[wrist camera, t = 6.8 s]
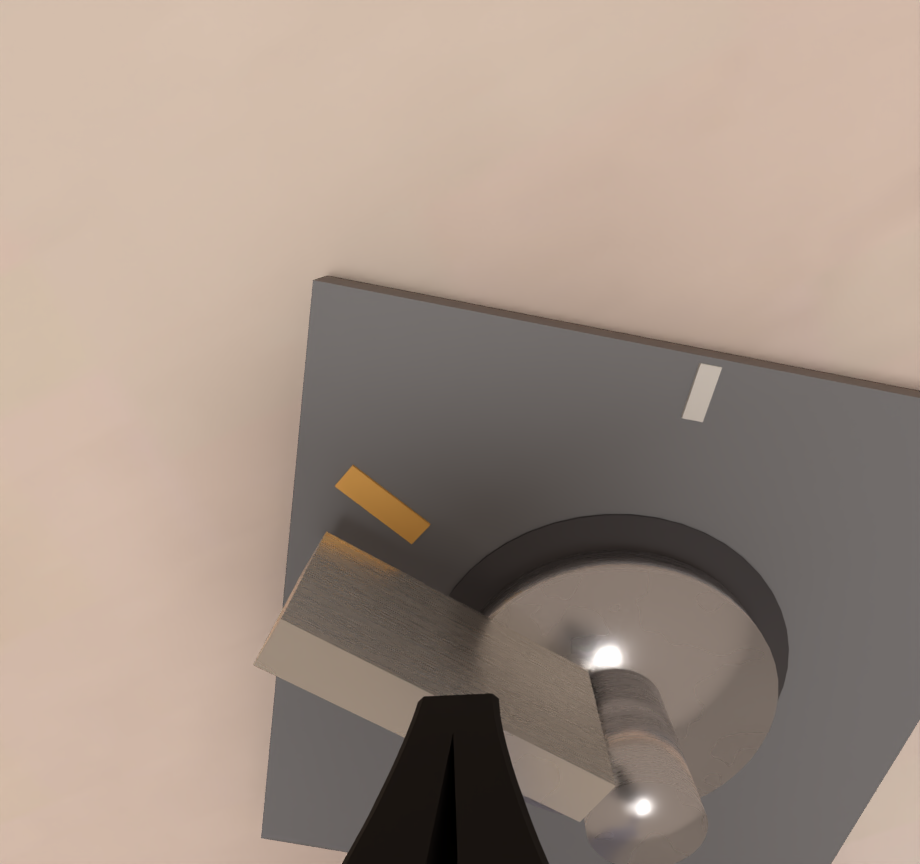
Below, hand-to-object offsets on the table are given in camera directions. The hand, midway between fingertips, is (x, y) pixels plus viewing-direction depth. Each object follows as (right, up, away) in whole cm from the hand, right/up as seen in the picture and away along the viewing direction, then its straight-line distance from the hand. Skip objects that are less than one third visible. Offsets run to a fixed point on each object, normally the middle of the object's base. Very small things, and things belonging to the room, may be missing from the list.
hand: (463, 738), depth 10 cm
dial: (+2, -1, +8) cm, 9 cm away
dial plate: (+5, -2, +10) cm, 12 cm away
